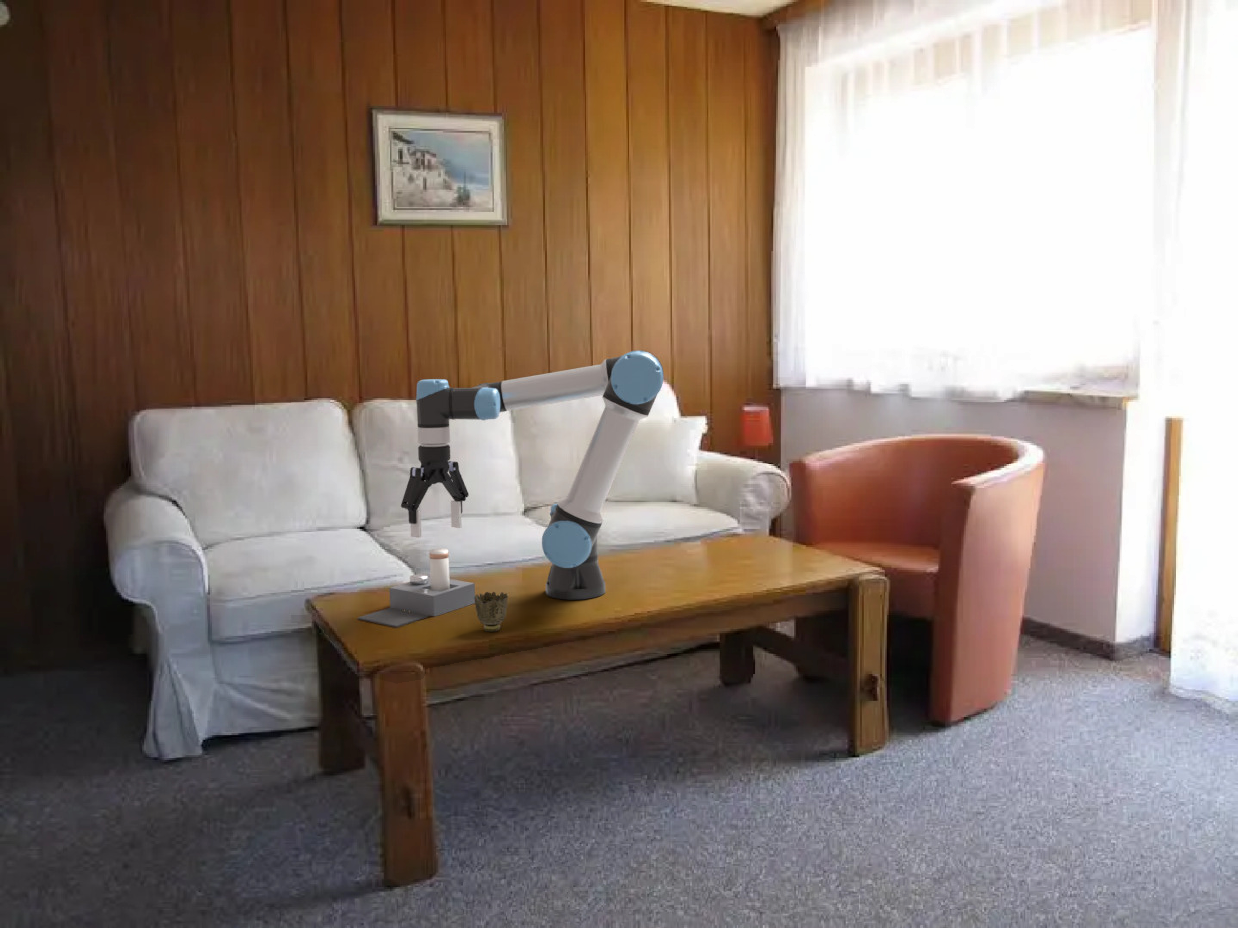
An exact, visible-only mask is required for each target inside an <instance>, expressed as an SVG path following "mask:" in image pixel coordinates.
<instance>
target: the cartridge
mask: <svg viewBox="0 0 1238 928" xmlns="http://www.w3.org/2000/svg"><path fill="white" fill-rule="evenodd" d="M428 557H429V571H430V572H429V576H430V578H431V590H434V591H439V592H441V591H444V590H447V589H450V582H449V579H450V564H449V563H450V562H449V560H450V559H449V558H450V555H449V549H446V548H434V549H430V550H429V552H428Z"/></svg>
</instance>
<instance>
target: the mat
mask: <svg viewBox="0 0 1238 928" xmlns="http://www.w3.org/2000/svg"><path fill="white" fill-rule="evenodd" d="M427 618H429V615H424V614H419V613H414V612H409V611H404V610H399V609H394V608H390V607H387V608H384V609H381V610H378V611H374V612H371V613H368V614H365V615H361V616H358V617H357V619H358V620H360V621H365V622H370V623H374V624H379V625H383V626H387V627H391V628H397V629H398V628H400V627H403V626H405V625H408V624H411V623H415V622H417V621H418V622H419V621H421V620H423V619H427Z"/></svg>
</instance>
